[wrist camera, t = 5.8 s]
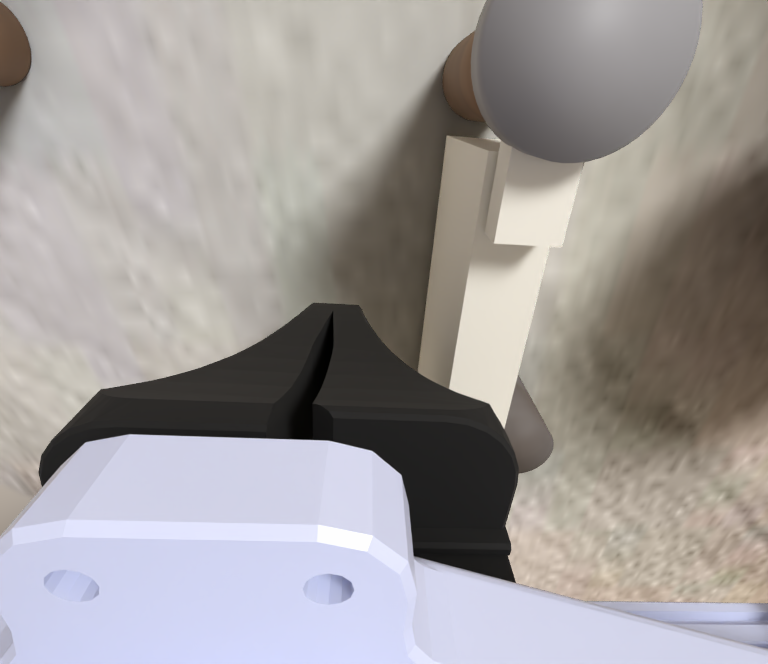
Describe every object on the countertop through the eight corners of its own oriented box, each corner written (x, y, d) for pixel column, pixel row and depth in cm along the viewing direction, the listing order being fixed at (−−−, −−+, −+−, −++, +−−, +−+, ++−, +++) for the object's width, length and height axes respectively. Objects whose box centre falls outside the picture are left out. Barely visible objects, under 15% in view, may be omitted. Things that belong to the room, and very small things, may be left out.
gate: (435, 5, 10) (506, -109, 5) (549, 15, 10) (741, -84, 5) (394, 416, 16) (406, 573, 11) (469, 418, 16) (517, 575, 11)
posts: (64, 387, 15) (-79, 517, 11) (-73, -15, 10) (-490, -130, 5) (511, 404, 16) (571, 532, 11) (602, 42, 11) (788, -11, 6)
